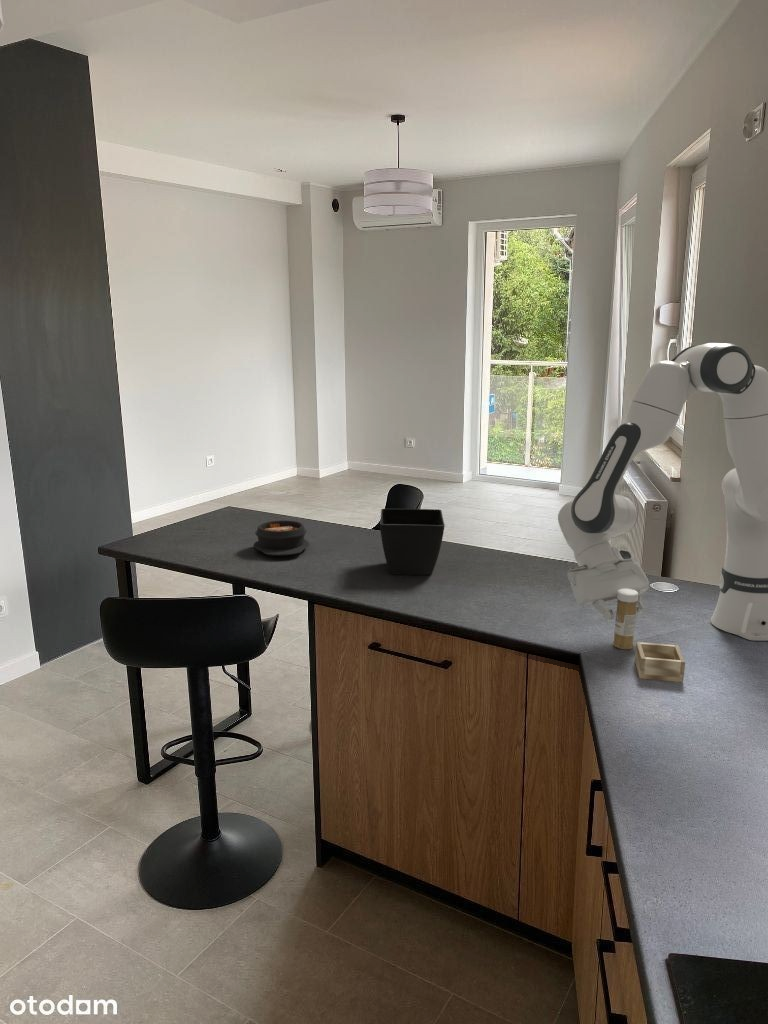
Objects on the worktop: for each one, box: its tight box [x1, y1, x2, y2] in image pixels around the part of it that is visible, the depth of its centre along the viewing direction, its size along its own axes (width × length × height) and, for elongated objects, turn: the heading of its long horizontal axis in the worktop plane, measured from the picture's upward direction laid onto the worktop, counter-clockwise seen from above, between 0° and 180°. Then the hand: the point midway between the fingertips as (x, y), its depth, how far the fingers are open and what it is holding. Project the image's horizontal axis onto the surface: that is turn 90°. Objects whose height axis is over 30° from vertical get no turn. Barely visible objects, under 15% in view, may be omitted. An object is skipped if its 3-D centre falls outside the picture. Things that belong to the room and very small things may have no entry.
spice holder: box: [634, 641, 686, 683], centre depth 155 cm, size 9×9×4 cm
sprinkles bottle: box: [612, 589, 638, 650], centre depth 167 cm, size 5×5×13 cm
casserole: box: [252, 520, 310, 557], centre depth 243 cm, size 25×19×8 cm
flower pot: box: [379, 508, 446, 576], centre depth 222 cm, size 19×19×17 cm
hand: (625, 615), depth 166 cm, fingers open, 8 cm apart
